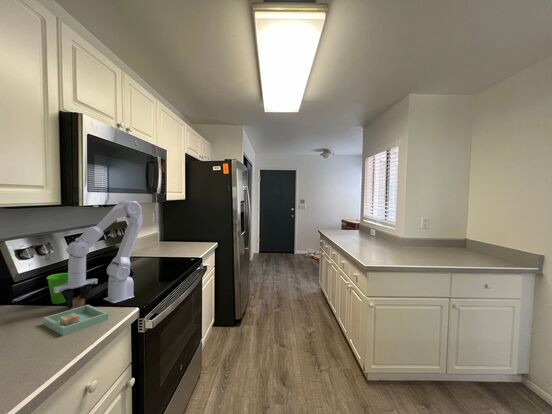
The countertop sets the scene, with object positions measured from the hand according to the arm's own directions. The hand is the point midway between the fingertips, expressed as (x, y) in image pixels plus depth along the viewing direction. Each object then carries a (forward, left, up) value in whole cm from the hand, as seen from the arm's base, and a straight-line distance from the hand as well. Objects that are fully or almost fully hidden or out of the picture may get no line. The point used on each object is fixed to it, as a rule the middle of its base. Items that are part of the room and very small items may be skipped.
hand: (76, 305), depth 107 cm
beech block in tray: (+10, +16, -1) cm, 19 cm away
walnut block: (0, 0, -2) cm, 2 cm away
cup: (0, -14, -2) cm, 14 cm away
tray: (+6, +13, -1) cm, 15 cm away
